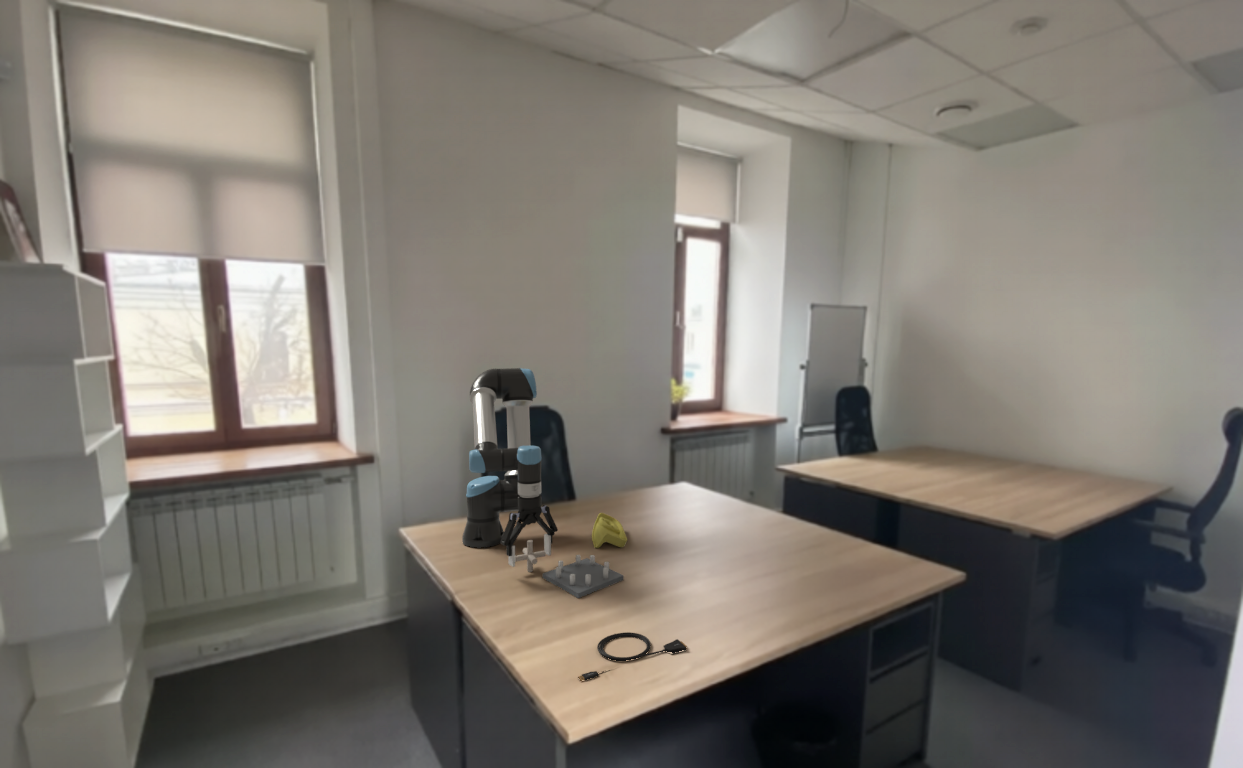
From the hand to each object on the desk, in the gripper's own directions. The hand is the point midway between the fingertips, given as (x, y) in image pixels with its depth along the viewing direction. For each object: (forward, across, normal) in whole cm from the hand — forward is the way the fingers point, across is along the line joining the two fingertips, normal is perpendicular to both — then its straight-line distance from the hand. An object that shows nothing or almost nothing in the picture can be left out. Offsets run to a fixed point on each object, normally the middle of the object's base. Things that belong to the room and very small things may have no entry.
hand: (530, 559), depth 174 cm
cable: (+6, -8, -53) cm, 54 cm away
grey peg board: (+4, +9, -16) cm, 19 cm away
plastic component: (+4, +38, +4) cm, 38 cm away
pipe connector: (+4, 0, 0) cm, 4 cm away
